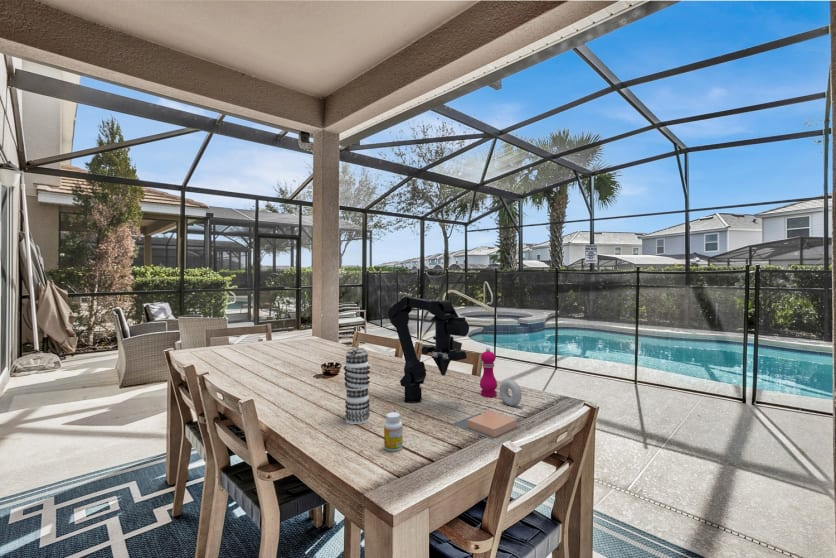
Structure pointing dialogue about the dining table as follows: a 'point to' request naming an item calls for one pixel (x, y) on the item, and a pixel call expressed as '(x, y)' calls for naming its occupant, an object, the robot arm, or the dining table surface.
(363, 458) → the dining table surface
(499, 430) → the terracotta tile
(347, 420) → the decorative candle
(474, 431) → the rubber mat
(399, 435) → the supplement bottle
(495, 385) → the pepper mill
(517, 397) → the donut
